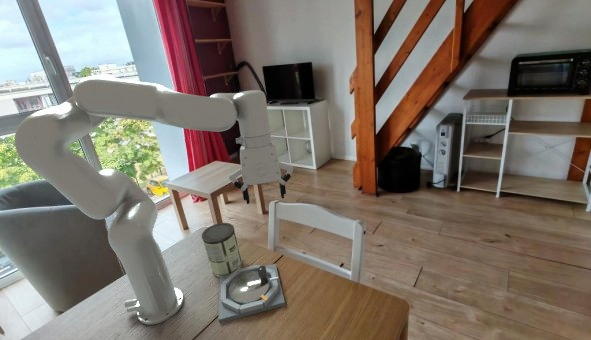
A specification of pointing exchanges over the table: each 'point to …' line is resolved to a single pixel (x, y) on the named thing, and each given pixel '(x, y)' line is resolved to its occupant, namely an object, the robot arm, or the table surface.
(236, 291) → the dial
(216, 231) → the coffee can
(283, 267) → the table surface
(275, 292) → the panel
